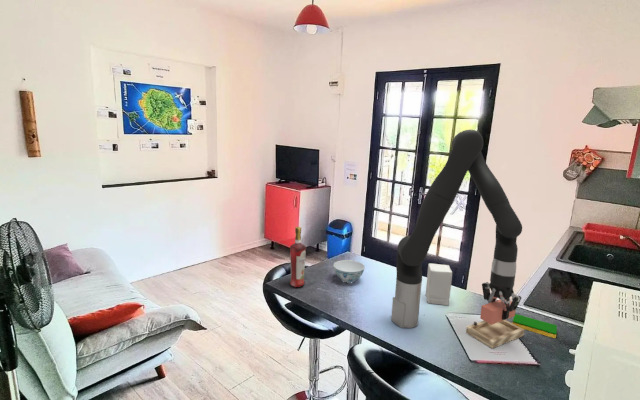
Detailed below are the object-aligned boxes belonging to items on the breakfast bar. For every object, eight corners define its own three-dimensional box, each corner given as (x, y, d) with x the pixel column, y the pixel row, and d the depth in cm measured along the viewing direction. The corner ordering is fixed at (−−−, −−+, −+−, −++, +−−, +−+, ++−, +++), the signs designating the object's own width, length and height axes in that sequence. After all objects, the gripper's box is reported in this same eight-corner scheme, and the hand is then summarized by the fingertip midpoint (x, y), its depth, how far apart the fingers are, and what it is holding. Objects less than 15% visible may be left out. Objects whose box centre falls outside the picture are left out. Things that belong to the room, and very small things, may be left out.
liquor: (296, 280, 164) (297, 224, 158) (308, 285, 159) (309, 227, 154) (286, 285, 158) (286, 227, 152) (298, 290, 153) (299, 230, 148)
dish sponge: (555, 339, 122) (556, 333, 121) (511, 326, 130) (512, 320, 129) (555, 330, 128) (556, 325, 127) (514, 318, 135) (514, 313, 135)
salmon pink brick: (491, 324, 117) (493, 309, 116) (480, 318, 121) (481, 304, 120) (514, 316, 123) (516, 301, 122) (503, 310, 127) (504, 296, 126)
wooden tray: (492, 348, 115) (493, 339, 114) (466, 332, 124) (467, 323, 123) (523, 336, 123) (524, 327, 122) (496, 321, 132) (498, 313, 131)
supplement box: (449, 306, 143) (453, 272, 140) (427, 303, 145) (430, 270, 142) (446, 296, 152) (449, 264, 149) (425, 294, 154) (428, 262, 151)
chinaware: (365, 287, 158) (366, 272, 157) (333, 286, 158) (333, 271, 157) (361, 274, 173) (362, 260, 172) (332, 273, 173) (333, 259, 172)
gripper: (478, 266, 123) (473, 309, 127) (516, 280, 111) (510, 328, 114) (491, 262, 127) (486, 305, 130) (530, 276, 114) (523, 323, 118)
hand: (497, 315), depth 122 cm, fingers closed on salmon pink brick, 4 cm apart
